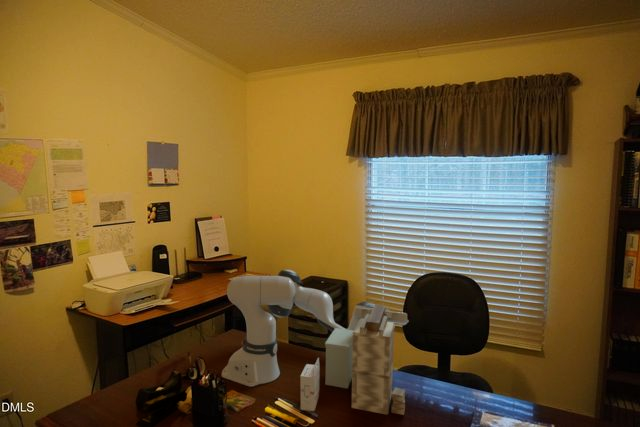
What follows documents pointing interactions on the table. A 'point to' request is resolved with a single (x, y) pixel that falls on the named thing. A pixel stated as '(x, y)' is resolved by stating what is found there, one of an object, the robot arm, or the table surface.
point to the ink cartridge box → (310, 386)
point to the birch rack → (372, 366)
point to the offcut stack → (398, 401)
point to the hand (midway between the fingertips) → (378, 312)
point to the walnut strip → (375, 318)
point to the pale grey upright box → (339, 358)
